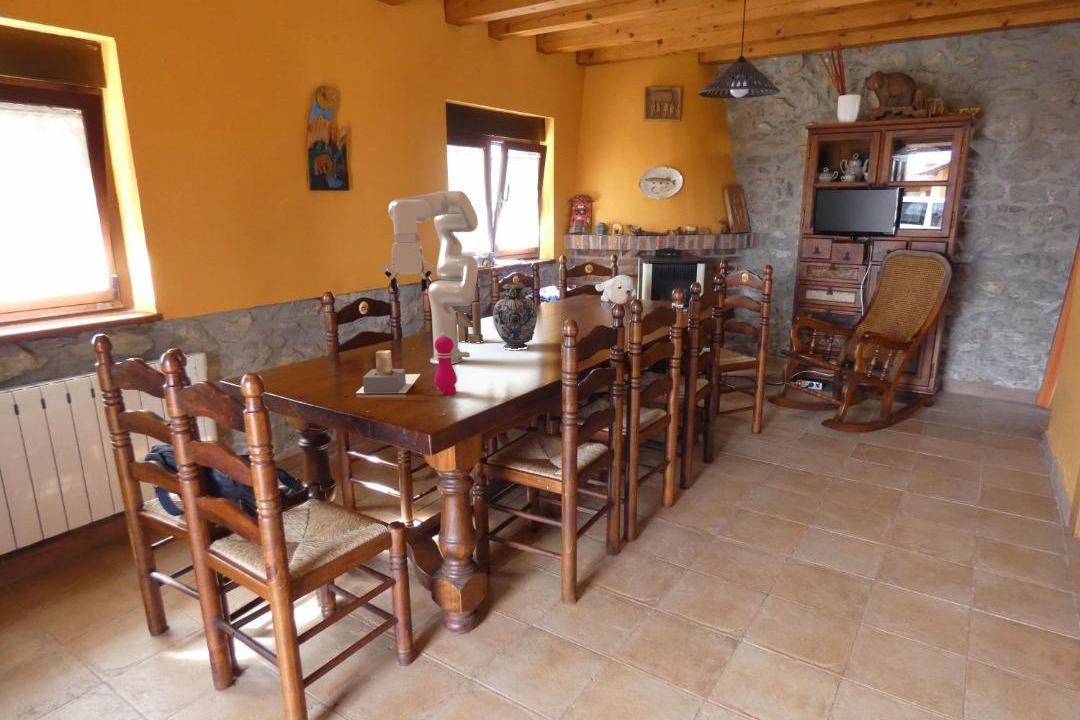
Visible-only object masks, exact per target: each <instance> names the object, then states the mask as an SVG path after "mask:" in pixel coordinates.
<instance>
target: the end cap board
mask: <svg viewBox="0 0 1080 720" xmlns="http://www.w3.org/2000/svg"><path fill="white" fill-rule="evenodd" d="M420 376H421V373H413V374H412V373H409V374H407V373H406V369H405V368H392V375H377V368H372V369H370V370H369V371H368V372H367V373H365V375H364V376H363V377H362V384H363V385H362V386H361V387H360V388H359V389H358V390H357V391H356V392H355V398H356V399H358V398H361V399H362V398H363V399H364V398H368V399H369V398H372V399H373V398H374V399H375V398H407V397H408V395H409V394H406V393H407V392H408V391H409V390H410V388H411V387H413V384H414V383H415V382H416V381H417V380H418V378H419V377H420Z"/></svg>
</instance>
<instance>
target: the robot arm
mask: <svg viewBox="0 0 1080 720" xmlns="http://www.w3.org/2000/svg"><path fill="white" fill-rule="evenodd" d="M387 211H388V216H389V218H390V220H391V221H392V223H393V237H394V238H393V239H394V243H392V248H391V261H389V262H387V263H385V264H384V265H382V266H381V269H382V271H383V272H384V274H385V276H386V277H388V279H389V280H390V287H391V288H390V289H391V290H392V292H397V291H398V280H397V278H396V277H398V275H415V274H418V275H419V276H420V277H421V280H420V285H421V291H422V292H425V291H426V289H428V290H427V292H428V299H429V302H430V303H429V304H430V308H431V309H430V311H431V323H432V345H433V357H431V358H430V359H429V361H430V363H431V364H432V365H433V364H434V365H438V357H437V352H438V351H437V350H436V349H435V341H436V340H437V339H438V338H440V337H441V333H442V332H445V333H446V335H447V336H446V337H448V338H450V339H452V341H453V344H454V347H453V349H452V350H451V352H452V355H453V356H452V357H451V363H452V365H456V364H459V362H460V363H462V362H463V358H470V355H471V354H470V351H469V352H468V351H461V349H460V348H459V340H458V315H457V314H456V312H455V310H454V309H453V306H454V307H467V306H470V305H472V303H474V302H473V301H474V298H475V292H476V286H477V282H478V281H477V280H478V272H479V270H478V269H479V266H478V262H477V260H476V258H475V257H474V256H471V255H462V251H463V245H462V243H461V241H460V240H459V238H458V237H457V236H456V235H455V234H454V233H471V232H474V231H476V229H477V228H478V224H479V223H478V222H479V220H478V215H477V213H476V211H475V209H474V206H473V205H472V202H471V200H470V198H469V197H468V195H467V194H466V193H465V192H463V191H461V190H449V191H448V190H447V191H446V190H444V191H443V190H442V191H441V190H439V191H436V192H431V193H426V194H420V195H416V196H415V195H414V196H408V197H407V196H406V197H403V198H402V197H401V198H397V199H393V200H392V201H390V204H389V205H388V210H387ZM431 219H433V224H434V227H435V230H436V234H437V236H438V240H439V244H440V245H439V252H438V258H437V265H436V275H437V277H438V278H439V279H441V280H435V281H434V282H432V283H430V285H429V286H428V278H429V276H430V275H431V274H432V273H433V270H434V269H435V266H434V264H432V263H430V262H428V261H426V260H424V253H423V248H422V243H421V242H419V241H420V240H423V236H422V235H419V233H418V223H425V222H428V221H429V220H431ZM390 267H391V272H392V273H391V272H390V271H389V269H388V268H390ZM425 267H427V269H428V270H427V271H426V272H425ZM461 361H462V362H461ZM455 363H456V364H455Z"/></svg>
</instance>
